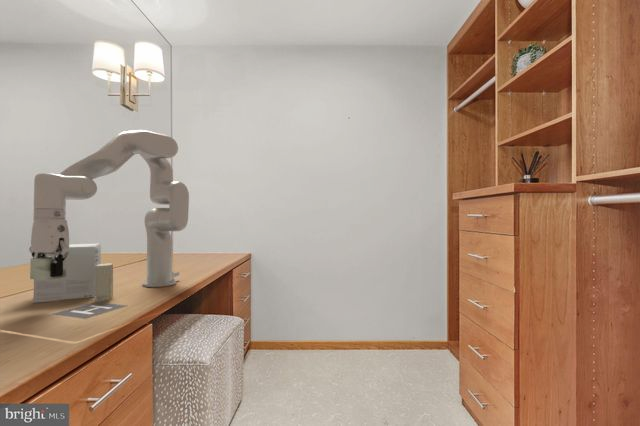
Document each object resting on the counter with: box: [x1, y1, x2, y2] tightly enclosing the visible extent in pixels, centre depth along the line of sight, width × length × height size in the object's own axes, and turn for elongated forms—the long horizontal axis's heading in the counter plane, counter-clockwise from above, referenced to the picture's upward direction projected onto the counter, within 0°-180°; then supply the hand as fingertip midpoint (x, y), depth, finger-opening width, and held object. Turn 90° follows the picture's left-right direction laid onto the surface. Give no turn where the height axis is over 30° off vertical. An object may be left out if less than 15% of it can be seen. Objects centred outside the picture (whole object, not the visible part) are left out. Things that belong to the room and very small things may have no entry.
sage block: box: [29, 256, 66, 280], centre depth 102 cm, size 6×6×6 cm
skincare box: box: [95, 262, 114, 302], centre depth 116 cm, size 6×4×12 cm
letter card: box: [52, 301, 127, 320], centre depth 103 cm, size 14×13×1 cm
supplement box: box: [32, 242, 102, 304], centre depth 121 cm, size 17×13×18 cm
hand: (48, 275), depth 102 cm, fingers closed on sage block, 6 cm apart
